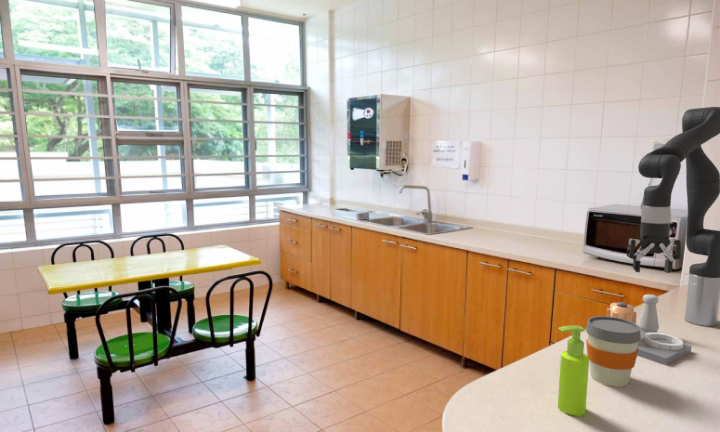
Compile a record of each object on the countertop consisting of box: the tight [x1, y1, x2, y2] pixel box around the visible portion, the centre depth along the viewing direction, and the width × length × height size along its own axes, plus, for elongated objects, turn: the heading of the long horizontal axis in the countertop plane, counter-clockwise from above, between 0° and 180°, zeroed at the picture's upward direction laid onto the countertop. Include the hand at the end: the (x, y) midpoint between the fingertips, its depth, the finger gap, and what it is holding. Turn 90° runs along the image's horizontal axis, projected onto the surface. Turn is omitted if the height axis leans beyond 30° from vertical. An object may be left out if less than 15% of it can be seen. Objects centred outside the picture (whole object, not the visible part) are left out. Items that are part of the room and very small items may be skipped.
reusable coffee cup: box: [585, 315, 641, 388], centre depth 120 cm, size 13×13×15 cm
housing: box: [606, 301, 692, 366], centre depth 141 cm, size 16×21×13 cm
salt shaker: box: [637, 293, 660, 333], centre depth 151 cm, size 6×6×13 cm
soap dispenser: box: [557, 325, 590, 417], centre depth 105 cm, size 6×7×20 cm
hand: (652, 272), depth 141 cm, fingers open, 8 cm apart
